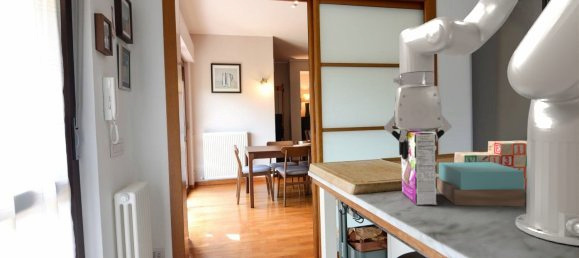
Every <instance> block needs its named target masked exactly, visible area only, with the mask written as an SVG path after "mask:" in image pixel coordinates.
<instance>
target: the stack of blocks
mask: <svg viewBox="0 0 579 258" xmlns="http://www.w3.org/2000/svg"><path fill="white" fill-rule="evenodd" d="M487 142H488V143H487V151H484V152H483V151H480V152H479V151H470V152H469V151H461V152H460V151H459V152H458V151H457V152H456V151H455V152H454V160H453V163H456V162H493V163H496V164H500V165H503V166H507V167H511V168H514V169H518V170H521V171H524V190H527V140H499V141H498V140H496V141H493V140H490V141H489V140H488V141H487Z"/></svg>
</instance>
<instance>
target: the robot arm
mask: <svg viewBox="0 0 579 258" xmlns="http://www.w3.org/2000/svg"><path fill="white" fill-rule="evenodd" d="M518 2H519V0H479V1H478V2H477V3H476V5H475V6H474V7H473V8H472V10H471V11H470V12H469V13H468V14H467V15H466V17H465V18H464V19H459V18H456V17H452V16H444V15H443V16H439V17H435V18H433V19H431V20H429V21H427V22H425V23H423V24H421V25H416V26H411V27H407V28H405V29H403V30H402V31H401V32H400V33H399V38H398V39H399V40H398V41H399V42H398V43H399V44H398V46H399V47H398V49H399V50H398V51H399V52H398V54H399V61H398V63H399V76H397V77H393V79H392V80H393V84H396V85H398V86H399V87H397V88H396V91H395V92H396V94H395V98H394V108H393V109H394V112H393V116H392V117H391V118H390V120H388V122H387V123H386V124H385V125H384V127H383V128H384V130H386V131H387V132H388V133H389V134H390V135H392V136H393V137H394V138H395V139H396V140H397V141H398V154H399V156H401V155H402V158H403V159H407V143H406V142H405V137H406V134H407V131H408V130H425V131H430V132H435V133H436V143H437V142H438V141H439V140H440V138H441V137H442V136H443V135H444V134H445V133H447V132H448V131H449V130H450V129H452V124H451V123H450V122H449V121H448V120H447V119H446V118H445V117H444V116H443V110H442V108H443V107H442V100H441V93H440V87H439V86H438V85H435V55H436V54H437V55H443V56H444V55H446V56H453V57H459V58H460V57H466V56H468V55H471V54H472V53H474V52H476V51H477V50H479V49H480V48H481V47H482V46H483V45H484V44H485V43H486V42H487V41H488V40H489V39H490V38H491V37H492V36H493V35H494V34H496V32H497V31H498V30H499V29H500V28H501V27H503V25H504V24H505V22H506V21H507V19H508V18H509V17H510V14H511V13H512V12H513V10H514V8H515V7H516V5H517V3H518ZM506 74H507V79H508V82H509V84H510V86H511V88H512V89H513V90H514V91H515V92H516V93H517V94H519V95H520V96H522V97H524V98H526V99H529V100H530V105H529V110H528V117H527V130H526V134H527V135H526V136H527V137H526V138H527V139H526V141H527V189H526V197H525V198H526V199H525V201H526V204H525V205H526V207H525V208H526V209H525V211H526V213H524V214H523V213H522V214H520V215H518V216H516V217H515V226H516V227H517V228H518V229H519V230H521V231H523V232H524V233H526V234H528V235H531V236H534V237H536V238H540V239H542V240H546V241H551V242H554V243H559V244H565V245H569V246H570V245H571V246H576V247H577V246H578V247H579V0H549V1H548V3H547V4H546V6H545V7H544V8H543V10H542V12H541V13H540V14H539V15H538V17H537V18H536V20H535V21H534V22H533V24H532V26H531V27H530V28H529V30H528V31H527V33H526V34H525V35H524V37H523V38H522V40H521V41H520V42H519V44H518V46H516V49H515V50H514V52H513V53H512V56H511V57H510V59H509V62H508V66H507V73H506ZM393 126H394V127H395V128H396V129H399V132H398V131H397V130H396V129H394V128H393Z"/></svg>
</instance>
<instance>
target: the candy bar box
mask: <svg viewBox="0 0 579 258" xmlns="http://www.w3.org/2000/svg"><path fill="white" fill-rule="evenodd" d="M405 142H406V143H407V159H403V158H402V155H400V156H401V157H400V160H401V193H402V194H403V195H405V197H407V198H408V199H409V200H410V201H411V202H412V203H413V204H414V205H416V206H437V205H438V190H437V177H438V176H437V173H438V171H437V167H438V166H437V159H438V158H437V142H436V133H435V132H430V131H427V130H408V131H407V134H406V137H405Z"/></svg>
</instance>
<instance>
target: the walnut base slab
mask: <svg viewBox="0 0 579 258" xmlns="http://www.w3.org/2000/svg"><path fill="white" fill-rule="evenodd" d="M525 191H526V189H524V190H460V189H459V188H457V187H455V186H453V185H451V184H449V183H448V182H446V181H444V180H442V179H440V178H439V176H437V192H439V193H440V195H442V196H444V197H445V199H447V200H449V201H450V202H451V203H452V204H453V205H454V206H455V205H457V206H459V205H460V206H492V207H493V206H502V207H525V205H526V204H525V201H526V199H525V198H526V196H525V194H526V193H525Z"/></svg>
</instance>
